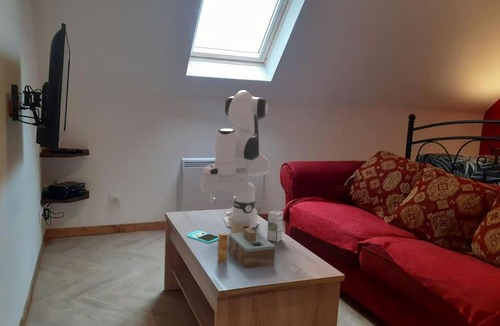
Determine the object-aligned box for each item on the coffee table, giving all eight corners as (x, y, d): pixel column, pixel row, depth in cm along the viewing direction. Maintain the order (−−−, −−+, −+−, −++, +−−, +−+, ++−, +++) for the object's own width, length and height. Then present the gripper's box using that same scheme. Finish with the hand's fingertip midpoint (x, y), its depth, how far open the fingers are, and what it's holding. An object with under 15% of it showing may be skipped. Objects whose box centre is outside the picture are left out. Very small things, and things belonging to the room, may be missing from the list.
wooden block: (217, 262, 174) (218, 233, 172) (224, 261, 175) (225, 232, 173) (219, 265, 171) (220, 235, 169) (226, 264, 172) (227, 234, 170)
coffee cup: (247, 246, 194) (248, 222, 193) (228, 244, 196) (228, 220, 194) (251, 240, 203) (252, 216, 202) (232, 238, 205) (233, 214, 203)
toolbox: (228, 253, 185) (228, 236, 184) (254, 250, 190) (255, 233, 189) (245, 270, 167) (246, 252, 166) (273, 266, 172) (274, 248, 171)
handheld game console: (198, 232, 213) (198, 229, 213) (222, 239, 204) (222, 236, 204) (185, 237, 205) (185, 234, 205) (209, 244, 196) (209, 242, 196)
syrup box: (282, 239, 206) (283, 211, 204) (276, 242, 201) (278, 214, 199) (272, 237, 209) (273, 209, 207) (266, 240, 204) (268, 212, 202)
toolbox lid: (228, 236, 184) (229, 226, 183) (255, 233, 189) (255, 223, 188) (246, 252, 166) (246, 240, 165) (274, 248, 171) (275, 237, 170)
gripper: (245, 166, 174) (244, 198, 176) (199, 168, 166) (198, 201, 168) (251, 169, 168) (250, 201, 170) (203, 170, 160) (203, 205, 162)
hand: (224, 201), depth 169 cm, fingers open, 8 cm apart
